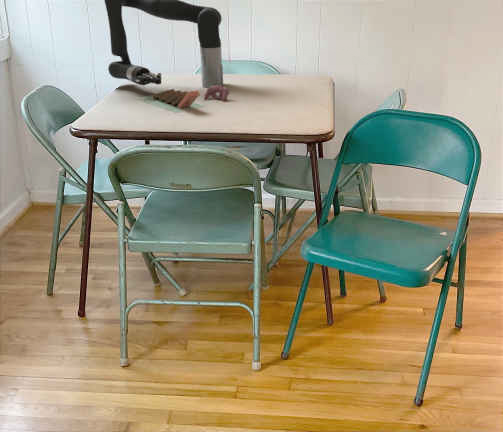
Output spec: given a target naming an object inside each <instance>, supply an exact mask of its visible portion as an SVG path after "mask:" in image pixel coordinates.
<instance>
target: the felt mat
mask: <svg viewBox="0 0 503 432" xmlns="http://www.w3.org/2000/svg"><path fill="white" fill-rule="evenodd" d="M153 95H154V94H152V95H147V96H142V97H137V100H140V101H143V102H146V103H147V104H150V105H153V106H155V107H158V108H161V109H164V110H167V111H169V112H172V113H175V114H177V113H181V112H182V113H183V112H186V111H190V110H194V109H200V108H204V107H205V105H202V104H199V103H197V102H195V101H194V102H193V103H192V104H191V105H190V106H188V107H184V108H179V107H178V105H176V106H172V103H168V104H166V101H165V100H164V101H160V100H159V98H157V99H153Z"/></svg>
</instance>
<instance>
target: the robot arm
mask: <svg viewBox="0 0 503 432" xmlns="http://www.w3.org/2000/svg"><path fill="white" fill-rule="evenodd" d="M104 4H105V10H106V14H107V18H108V19H107V20H108V26H109V34H110V35H109V37H110V49H111V55H113V56H115V57H120V59H121V60H118V61H117V60H116V61H112V62H110V63H109V65H108V68H107V69H108V73H109V75H110V76H111V77H112V78H114V79H120V80H128V81H130V82H132V83H134V84H136V85H139V86H146V85H150V84H152V85H153V84H156V85H161V84H162V73H161V72H158V73H157V74H155V73H153V72H151V71H150V70H149V69H148V68H146V67H144V66H140V65H135V64H132V62H131V59H130V55H129V53H128V41H127V40H128V39H127V34H126V29H125V25H124V21H123V13H122V12H123V11H122V10H123V7H124V8H125V7H126V8H132V9H133V8H134V9H137V10H140V11H142V12H144V13H146V14H148V15H151V16H153V17H155V18H160V19H163V20H168V21H180V22H182V21H183V22H188V23H189V22H190V23H194V24H197V25H196V26H197V35H198V42H199V49H200V50H199V51H200V67H201V85H202V87H204V88H209V87H210V86H215V85H219V86H223V87H224V71H223V69H224V68H223V59H222V42H221V38H220V28H219V27H220V25H221V23H222V15H221V13H220V12H219V10H218V9H216V8H215V7H211V6H210V7H209V6H204V5H196V4H192V3H188V2H186V1H183V0H104Z"/></svg>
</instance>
